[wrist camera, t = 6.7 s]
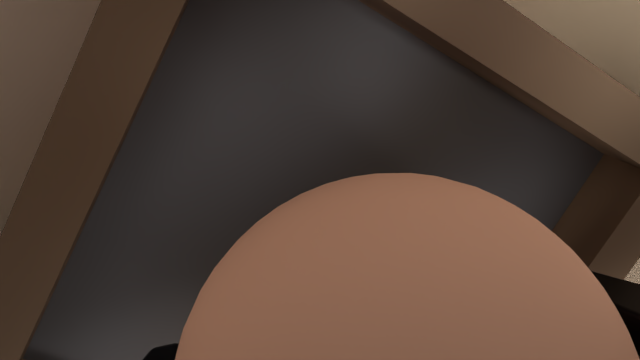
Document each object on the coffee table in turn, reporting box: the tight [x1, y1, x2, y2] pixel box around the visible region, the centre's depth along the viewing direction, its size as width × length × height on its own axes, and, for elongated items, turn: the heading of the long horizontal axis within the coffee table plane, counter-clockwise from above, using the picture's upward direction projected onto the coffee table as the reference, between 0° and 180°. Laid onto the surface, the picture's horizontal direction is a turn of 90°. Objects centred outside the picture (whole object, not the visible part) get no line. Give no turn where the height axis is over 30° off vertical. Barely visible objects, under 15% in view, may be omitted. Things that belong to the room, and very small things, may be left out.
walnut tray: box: [0, 0, 640, 360], centre depth 10 cm, size 11×11×2 cm
